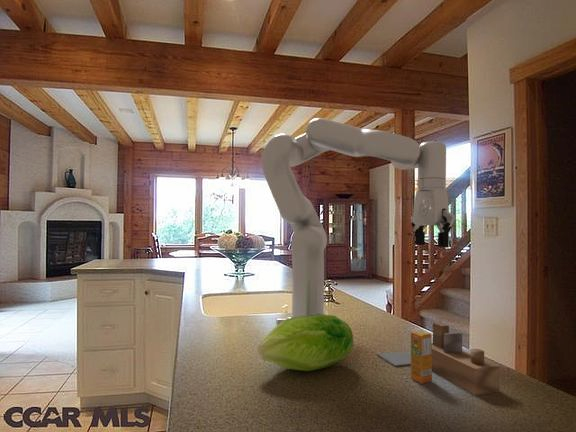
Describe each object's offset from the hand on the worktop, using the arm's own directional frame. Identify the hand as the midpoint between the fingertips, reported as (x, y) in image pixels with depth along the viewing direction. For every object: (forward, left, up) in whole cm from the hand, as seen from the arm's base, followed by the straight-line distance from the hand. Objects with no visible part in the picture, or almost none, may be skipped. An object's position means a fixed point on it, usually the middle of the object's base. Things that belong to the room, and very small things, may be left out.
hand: (430, 245), depth 112 cm
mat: (-18, -12, -26) cm, 34 cm away
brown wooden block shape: (-12, -25, -26) cm, 38 cm away
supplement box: (-21, -24, -27) cm, 41 cm away
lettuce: (-42, -12, -27) cm, 51 cm away
